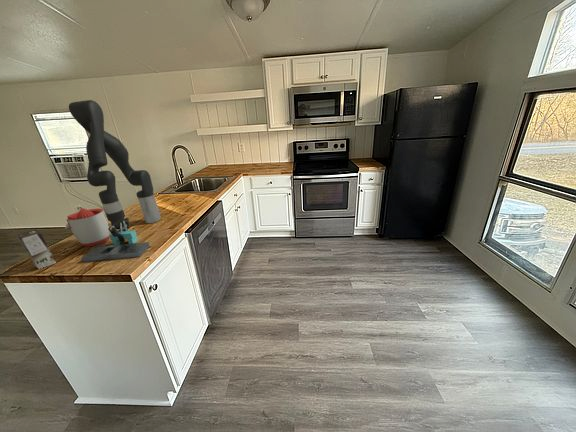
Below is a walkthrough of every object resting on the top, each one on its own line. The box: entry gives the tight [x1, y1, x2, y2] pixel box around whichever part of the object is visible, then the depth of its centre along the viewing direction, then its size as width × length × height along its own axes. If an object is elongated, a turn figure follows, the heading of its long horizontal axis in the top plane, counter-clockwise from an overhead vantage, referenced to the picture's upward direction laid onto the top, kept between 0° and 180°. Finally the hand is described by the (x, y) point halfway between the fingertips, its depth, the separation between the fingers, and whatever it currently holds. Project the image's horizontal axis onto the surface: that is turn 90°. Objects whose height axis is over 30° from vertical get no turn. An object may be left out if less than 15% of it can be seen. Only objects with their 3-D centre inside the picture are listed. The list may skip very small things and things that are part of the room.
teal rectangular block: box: [109, 229, 138, 245], centre depth 124 cm, size 4×11×6 cm, turn 94°
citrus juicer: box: [64, 207, 111, 248], centre depth 124 cm, size 16×17×20 cm
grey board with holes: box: [80, 241, 151, 263], centre depth 113 cm, size 10×26×2 cm, turn 94°
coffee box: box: [16, 229, 57, 270], centre depth 106 cm, size 9×6×16 cm
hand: (124, 239), depth 124 cm, fingers closed on teal rectangular block, 4 cm apart
